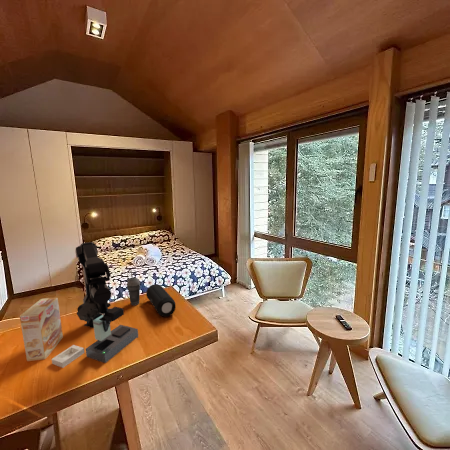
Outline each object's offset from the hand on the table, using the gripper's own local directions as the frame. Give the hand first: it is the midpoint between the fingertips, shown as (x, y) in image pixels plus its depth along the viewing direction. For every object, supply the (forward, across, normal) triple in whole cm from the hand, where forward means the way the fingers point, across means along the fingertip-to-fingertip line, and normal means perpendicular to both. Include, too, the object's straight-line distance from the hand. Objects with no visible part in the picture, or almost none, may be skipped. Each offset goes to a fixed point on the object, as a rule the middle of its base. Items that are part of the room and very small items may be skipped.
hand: (102, 330), depth 99 cm
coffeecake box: (+10, -26, -7) cm, 29 cm away
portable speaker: (+11, -2, +40) cm, 41 cm away
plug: (+3, 0, 0) cm, 3 cm away
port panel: (+10, 0, +4) cm, 11 cm away
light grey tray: (+10, -11, -8) cm, 17 cm away
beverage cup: (+11, -19, +38) cm, 44 cm away
